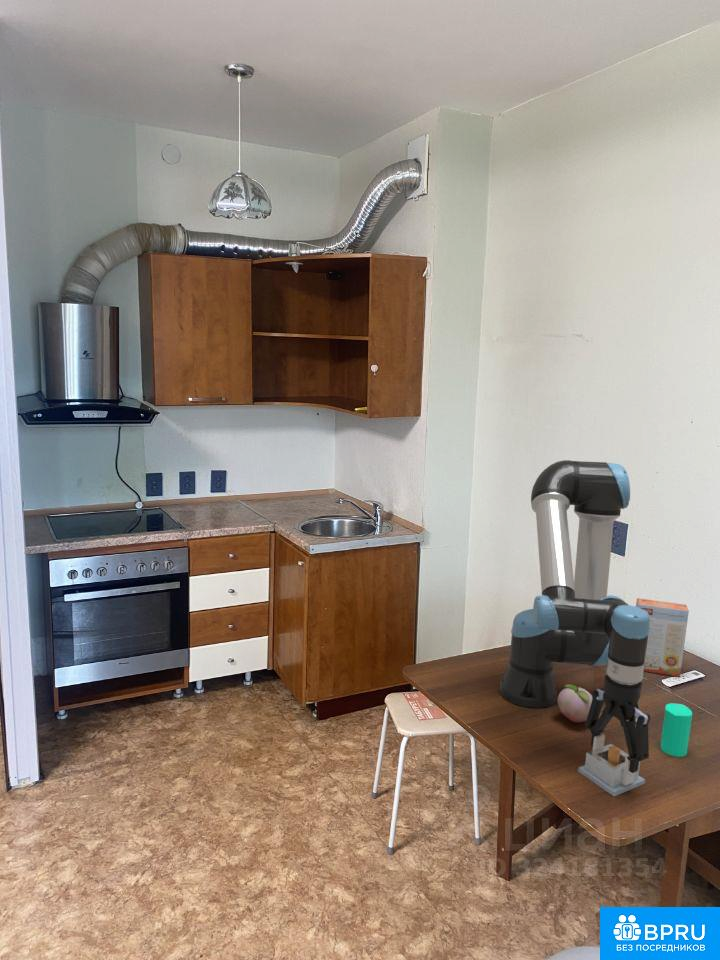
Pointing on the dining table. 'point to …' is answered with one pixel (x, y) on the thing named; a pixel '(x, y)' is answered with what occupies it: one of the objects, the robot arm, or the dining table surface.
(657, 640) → the cracker box
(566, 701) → the decorative fruit
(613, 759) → the keeper
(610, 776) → the gray square frame
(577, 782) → the dining table surface
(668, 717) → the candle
